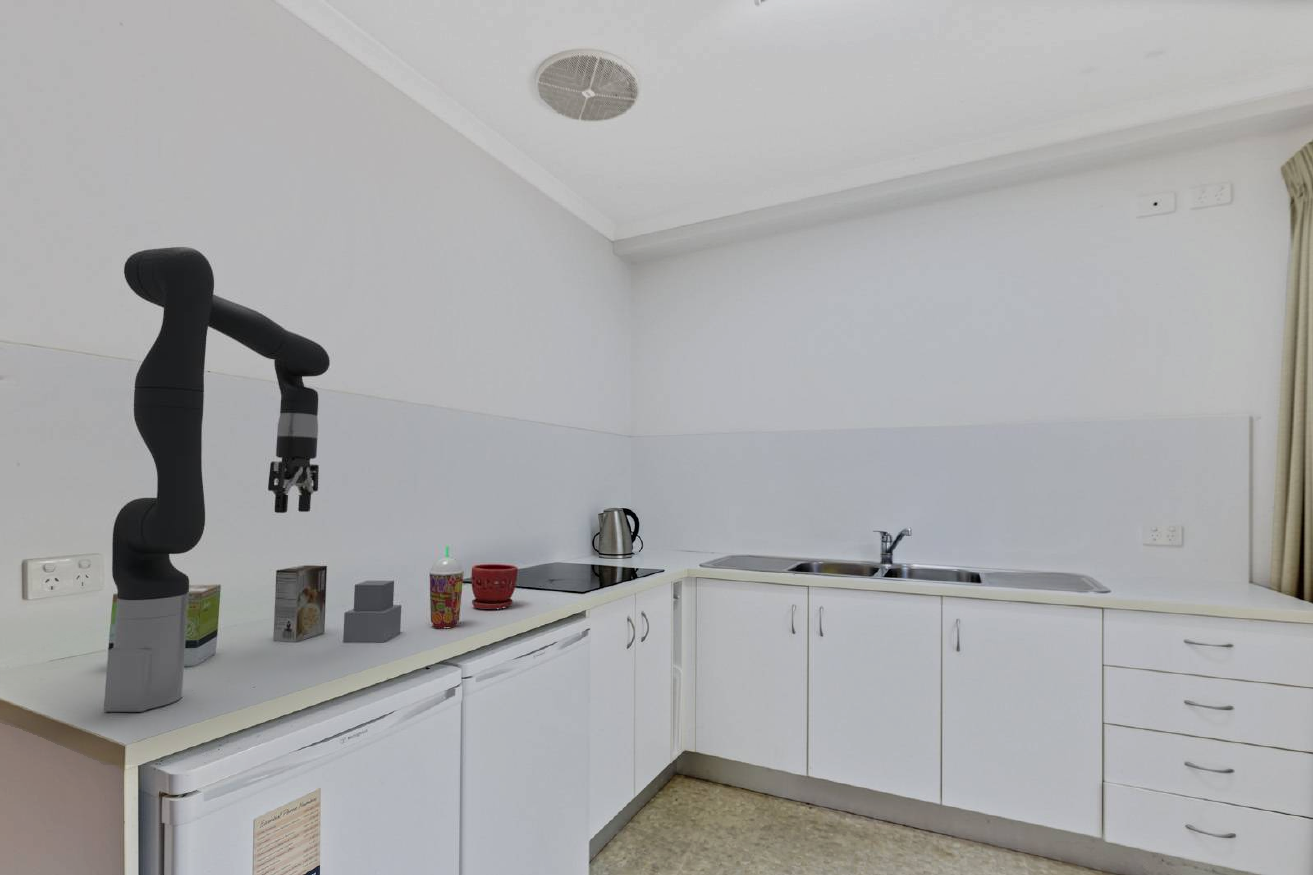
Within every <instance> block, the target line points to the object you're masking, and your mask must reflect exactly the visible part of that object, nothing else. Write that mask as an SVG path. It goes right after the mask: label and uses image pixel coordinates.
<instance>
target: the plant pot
mask: <svg viewBox="0 0 1313 875" xmlns="http://www.w3.org/2000/svg"><path fill="white" fill-rule="evenodd" d="M470 579H471V590H472V593H473V596H474V599H472V600H471V604H472V606H473V607H474V608H476V609H477V608H478V609H479V608H480V609H479V610H484V609H497V608H503V607H507V606H509V605H510V606H511V605H512V604H513V599H511V598H512V597H513V594H514V592H515V590H516V586H517V581H518V567H517V566H515V565H511V564H502V563H501V564H499V563H488V564H487V563H485V564H476V565H473V566H472V568H471V578H470ZM496 582H498V583H496ZM510 606H509V607H510ZM507 608H508V607H507ZM503 609H504V608H503ZM497 610H498V609H497Z"/></svg>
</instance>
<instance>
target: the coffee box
mask: <svg viewBox="0 0 1313 875" xmlns="http://www.w3.org/2000/svg"><path fill="white" fill-rule="evenodd" d="M327 572H328V566H327V565H308V564H307V565H300V566H293V567H288V568H282V569H281V568H280V569H277V570H275V591H274V592H275V596H274V612H273V613H274V617H273V619H274V620H273V634H272V635H273V637H272V638H273V639H272V640H273V642H285V643H286V642H287V643H288V642H289V643H298V642H301V641H303V640H306V639H309V638H314V637H315V636H318V635H322V634H325V628H326V627H325V626H326V601H327V600H326V599H327V578H328V577H327V575H328V573H327Z"/></svg>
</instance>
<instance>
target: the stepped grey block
mask: <svg viewBox="0 0 1313 875" xmlns="http://www.w3.org/2000/svg"><path fill="white" fill-rule="evenodd" d="M353 595H354V596H353V608H352V609H349V610H347V611H345V612H344V617H343V638H342V642H343V643H385V642H387V641H390V639H392V638H394V637H396V636H397V635H399V634H401V628H402V627H401V623H402V621H401V620H402V604H394V597H395V596H394V595H395V580H366V581H365V580H364V581H362V582H359V583H357V584H354V594H353Z"/></svg>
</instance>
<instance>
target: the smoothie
mask: <svg viewBox="0 0 1313 875" xmlns="http://www.w3.org/2000/svg"><path fill="white" fill-rule="evenodd" d="M449 550H450V547H449V546H448V545H447V546H445V556H444V557H441V558H440V559H438V560H437V561H435V562H434V564H433V565H432V567H431V568H430V571H428V572H429V604H430V606H429V608H430V609H429V610H430V622H431V623H432V627H433V628H434V627H436V628H435V629H439V628H444V627H452V628H454V627H453V626H455V625H456V624H457V625H458V622H459V621H460V617H461V616H460V615H461V614H460V612H461V604H462V593H463V584H464V583H463V581H464V572H465V571H464V569H463V567H462V565H461V564H460V562H459V561H458V560H457V559H456V558H453V557H449V553H450V552H449ZM457 625H456V626H457ZM456 626H455V627H456Z"/></svg>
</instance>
